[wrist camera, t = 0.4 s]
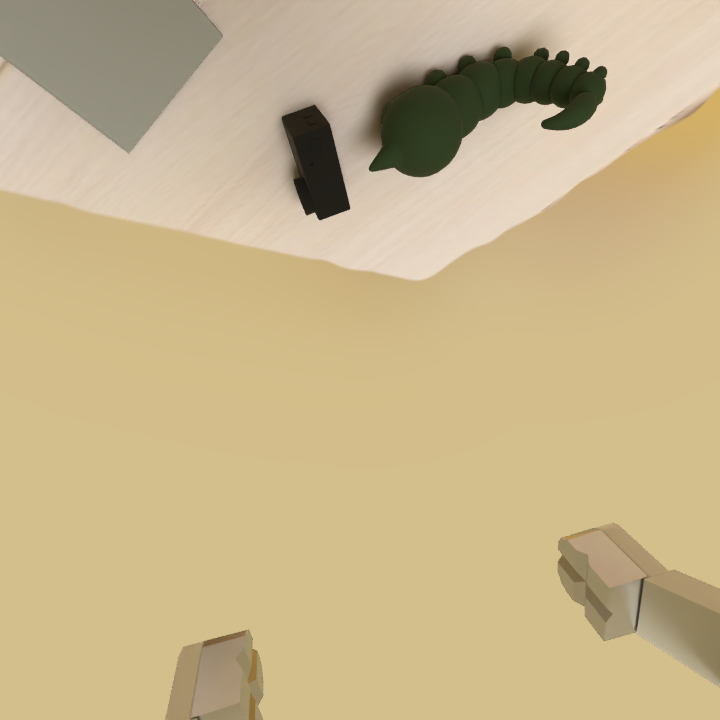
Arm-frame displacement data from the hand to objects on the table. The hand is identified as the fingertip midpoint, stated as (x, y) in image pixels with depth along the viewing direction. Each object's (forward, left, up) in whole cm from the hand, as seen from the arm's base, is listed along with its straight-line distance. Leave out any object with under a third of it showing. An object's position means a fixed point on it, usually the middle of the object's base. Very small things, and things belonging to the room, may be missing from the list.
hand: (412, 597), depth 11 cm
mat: (-11, -5, -52) cm, 54 cm away
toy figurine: (+20, +18, -52) cm, 59 cm away
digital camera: (+13, +1, -53) cm, 54 cm away
